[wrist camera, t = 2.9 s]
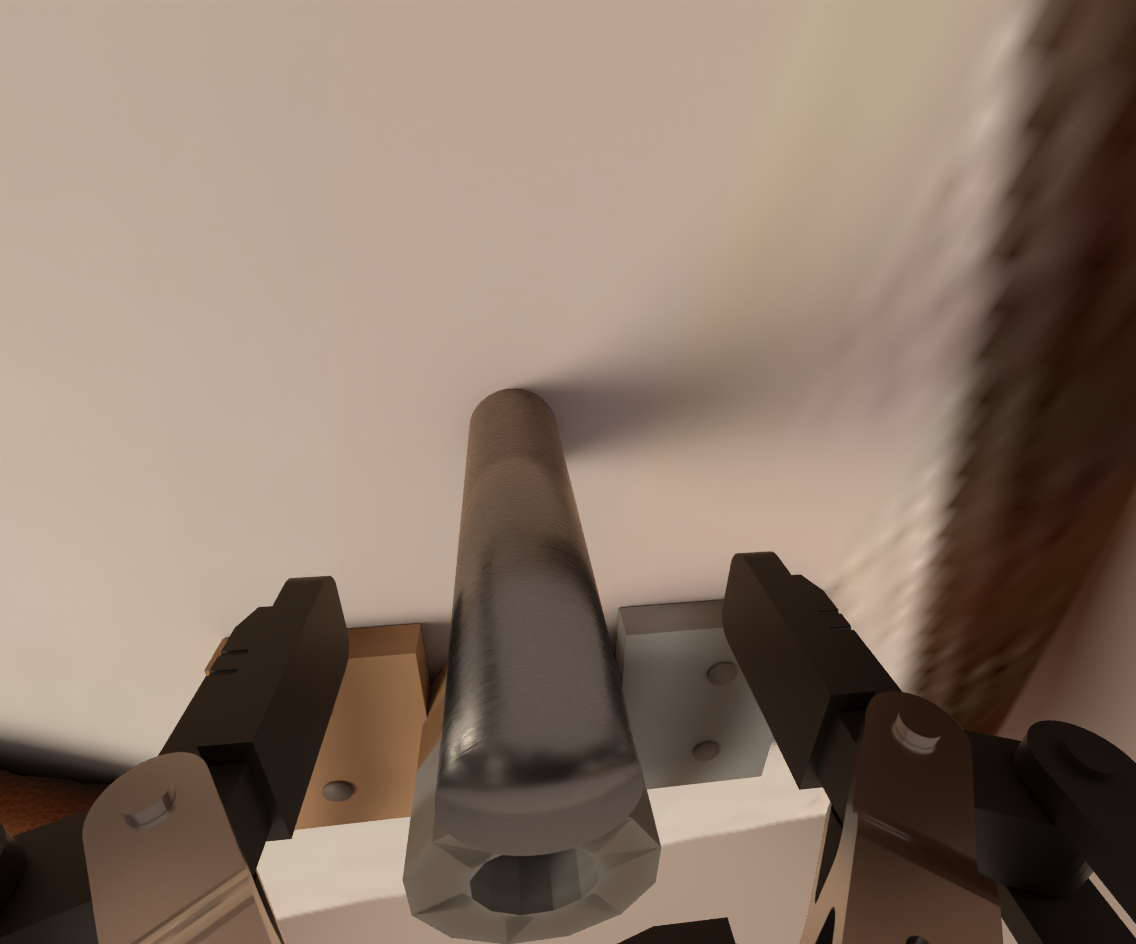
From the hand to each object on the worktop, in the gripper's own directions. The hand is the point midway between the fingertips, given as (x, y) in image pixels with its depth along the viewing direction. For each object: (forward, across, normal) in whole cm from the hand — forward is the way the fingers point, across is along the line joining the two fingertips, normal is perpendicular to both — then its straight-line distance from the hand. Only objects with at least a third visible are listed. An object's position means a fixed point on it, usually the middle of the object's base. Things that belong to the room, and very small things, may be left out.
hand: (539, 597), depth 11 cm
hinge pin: (+8, 0, 0) cm, 8 cm away
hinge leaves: (+8, 0, +13) cm, 15 cm away
